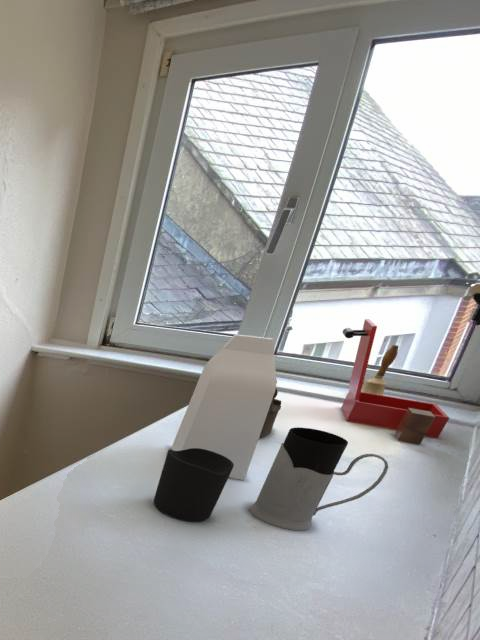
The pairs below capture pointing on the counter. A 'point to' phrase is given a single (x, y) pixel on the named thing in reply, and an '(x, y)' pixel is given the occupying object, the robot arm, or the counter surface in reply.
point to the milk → (231, 402)
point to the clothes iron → (271, 415)
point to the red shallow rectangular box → (389, 411)
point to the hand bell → (380, 373)
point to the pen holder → (191, 483)
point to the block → (414, 426)
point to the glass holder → (303, 478)
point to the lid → (361, 355)
